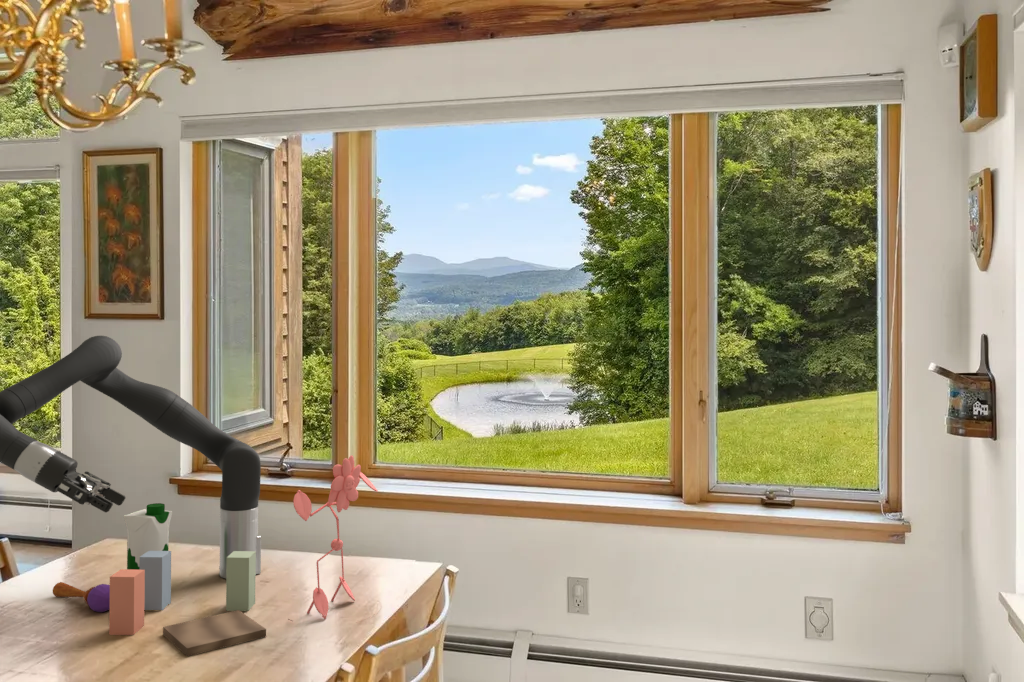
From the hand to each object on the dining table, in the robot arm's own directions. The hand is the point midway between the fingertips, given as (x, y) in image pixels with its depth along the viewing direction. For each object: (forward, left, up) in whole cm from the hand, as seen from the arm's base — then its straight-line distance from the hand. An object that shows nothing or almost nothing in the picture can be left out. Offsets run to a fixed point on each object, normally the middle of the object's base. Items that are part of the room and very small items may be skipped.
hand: (117, 504), depth 173 cm
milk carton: (-13, -23, -26) cm, 37 cm away
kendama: (+2, -19, -26) cm, 33 cm away
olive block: (-25, +4, -26) cm, 36 cm away
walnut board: (-14, +17, -26) cm, 34 cm away
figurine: (-42, +21, -26) cm, 54 cm away
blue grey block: (-10, -8, -26) cm, 29 cm away
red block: (-1, +3, -26) cm, 26 cm away
